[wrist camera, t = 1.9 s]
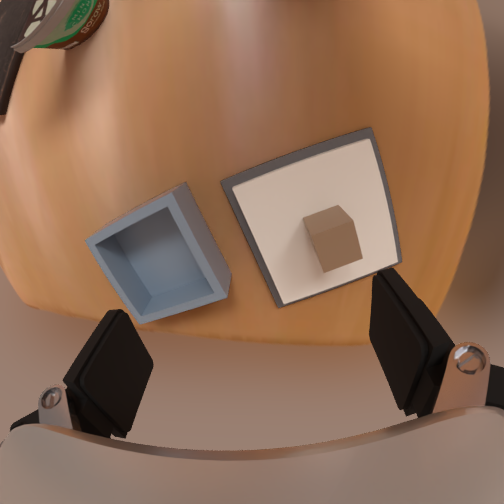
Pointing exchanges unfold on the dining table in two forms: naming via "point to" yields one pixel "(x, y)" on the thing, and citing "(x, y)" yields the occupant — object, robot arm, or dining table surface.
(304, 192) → the lid
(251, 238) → the mat
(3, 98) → the hardcover book
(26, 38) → the food container
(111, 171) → the dining table surface
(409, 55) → the dining table surface
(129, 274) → the dish
